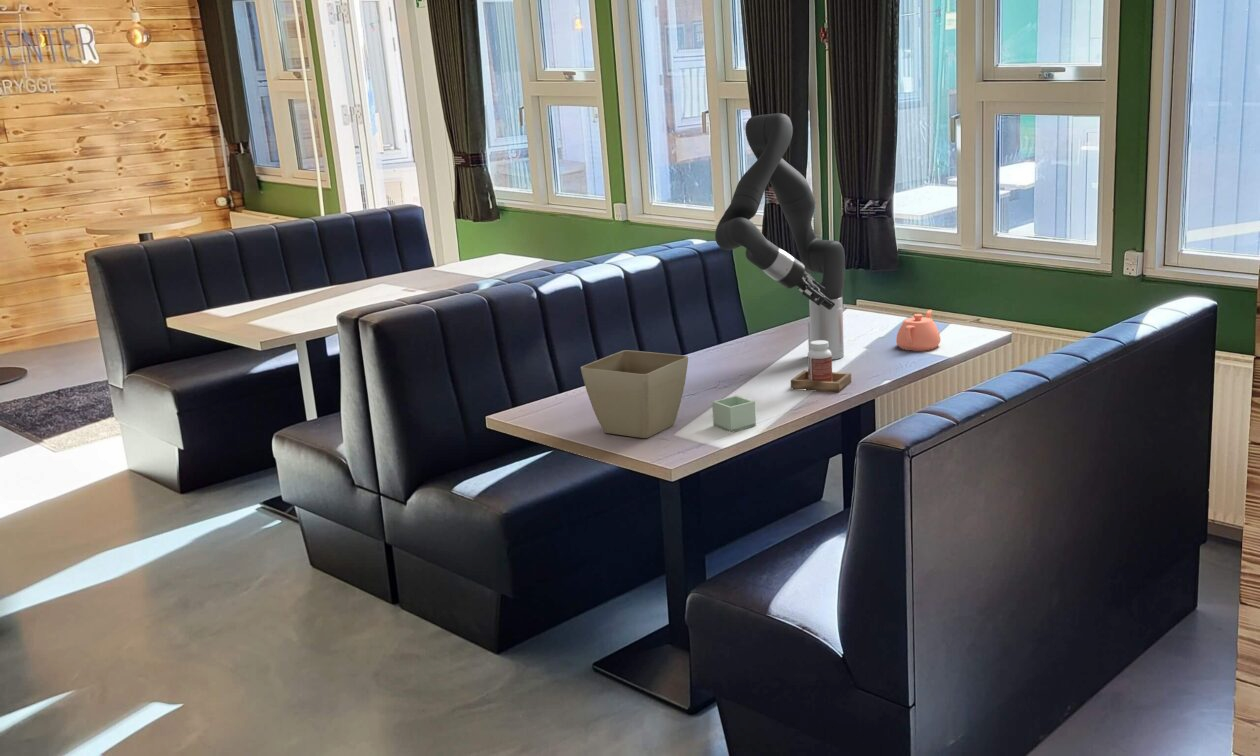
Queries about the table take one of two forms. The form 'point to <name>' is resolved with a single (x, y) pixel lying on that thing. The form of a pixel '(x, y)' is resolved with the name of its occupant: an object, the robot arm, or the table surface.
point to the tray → (821, 382)
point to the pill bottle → (820, 361)
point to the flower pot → (636, 391)
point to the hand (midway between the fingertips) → (827, 299)
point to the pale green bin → (734, 413)
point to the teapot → (918, 333)
